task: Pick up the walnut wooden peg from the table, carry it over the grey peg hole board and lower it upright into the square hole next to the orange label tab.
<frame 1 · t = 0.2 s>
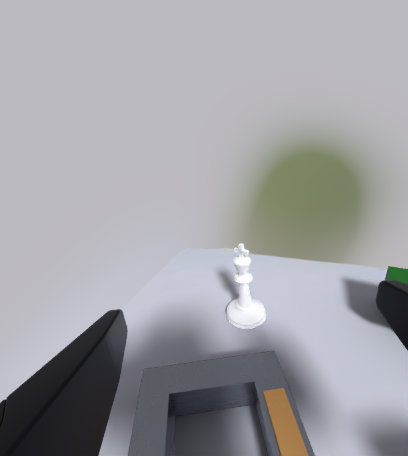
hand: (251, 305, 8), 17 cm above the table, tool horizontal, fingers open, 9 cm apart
chess piece: (245, 315, 30), on the table
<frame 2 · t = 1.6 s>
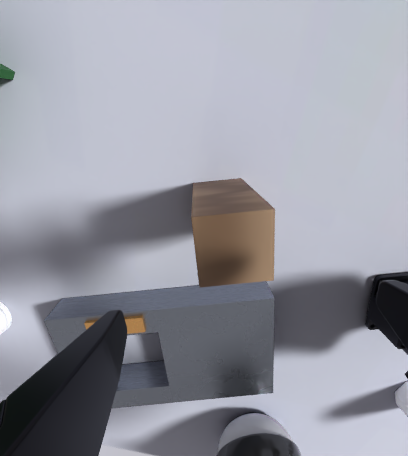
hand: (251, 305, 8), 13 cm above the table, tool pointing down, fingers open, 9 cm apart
grey peg hole board: (172, 335, 25), on the table
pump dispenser: (249, 424, 32), on the table
walnut peg: (218, 203, 20), on the table
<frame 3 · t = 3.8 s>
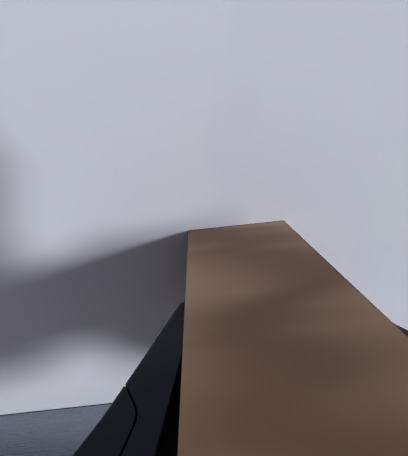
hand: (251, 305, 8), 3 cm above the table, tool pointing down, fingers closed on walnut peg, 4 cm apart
walnut peg: (238, 267, 11), on the table, touching gripper
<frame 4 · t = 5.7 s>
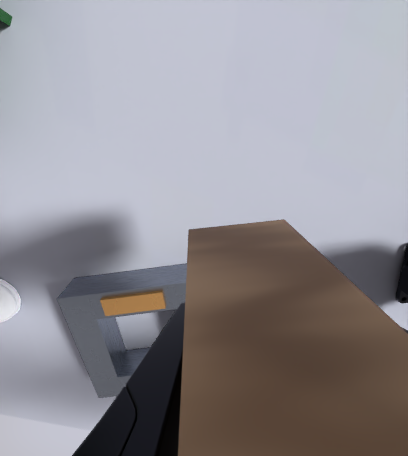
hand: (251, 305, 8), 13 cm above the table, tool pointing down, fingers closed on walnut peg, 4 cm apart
grey peg hole board: (191, 315, 24), on the table
walnut peg: (238, 266, 11), point 10 cm above the table, touching gripper
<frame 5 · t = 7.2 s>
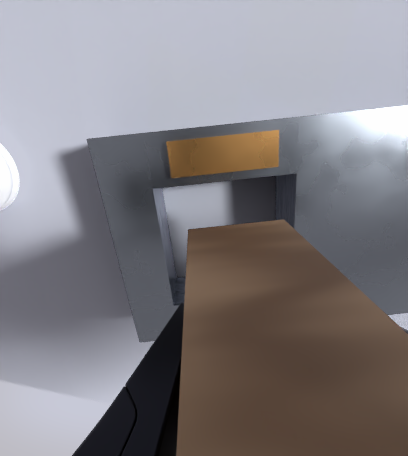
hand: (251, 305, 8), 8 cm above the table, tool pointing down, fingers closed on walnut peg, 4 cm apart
grey peg hole board: (283, 219, 16), on the table
walnut peg: (238, 266, 11), point 5 cm above the table, touching gripper
when the fingers open (5 cm above the table, at t = 8.1 s): walnut peg drops 2 cm, resting in grey peg hole board.
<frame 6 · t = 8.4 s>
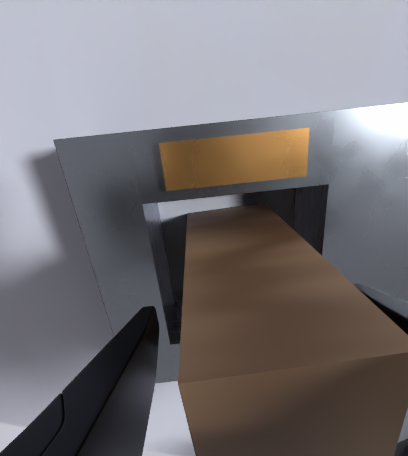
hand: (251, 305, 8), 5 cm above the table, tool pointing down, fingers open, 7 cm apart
grey peg hole board: (302, 236, 13), on the table
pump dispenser: (388, 411, 19), on the table
walnut peg: (229, 243, 13), resting in grey peg hole board
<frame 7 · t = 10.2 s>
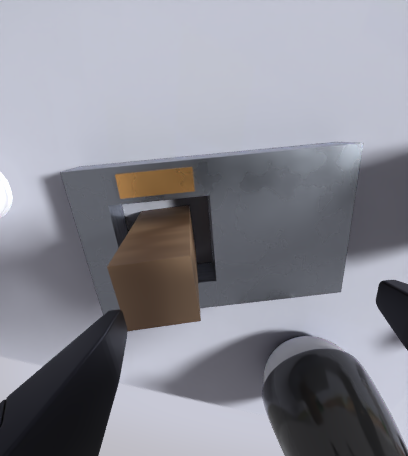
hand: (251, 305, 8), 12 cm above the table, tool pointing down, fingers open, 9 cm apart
grey peg hole board: (215, 226, 21), on the table
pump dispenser: (295, 353, 27), on the table
walnut peg: (169, 230, 20), resting in grey peg hole board
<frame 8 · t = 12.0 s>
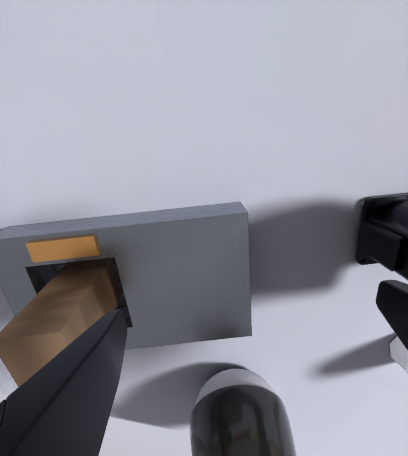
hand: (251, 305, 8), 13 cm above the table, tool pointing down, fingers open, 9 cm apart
grey peg hole board: (138, 274, 23), on the table
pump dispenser: (231, 382, 29), on the table
walnut peg: (96, 277, 23), resting in grey peg hole board
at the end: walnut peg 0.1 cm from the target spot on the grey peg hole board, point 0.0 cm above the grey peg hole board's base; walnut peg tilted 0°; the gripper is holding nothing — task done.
